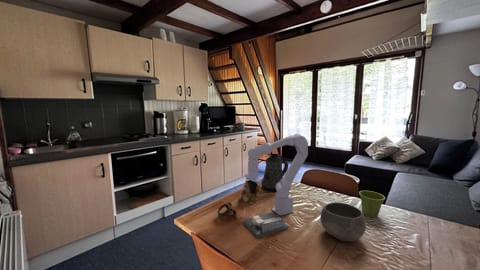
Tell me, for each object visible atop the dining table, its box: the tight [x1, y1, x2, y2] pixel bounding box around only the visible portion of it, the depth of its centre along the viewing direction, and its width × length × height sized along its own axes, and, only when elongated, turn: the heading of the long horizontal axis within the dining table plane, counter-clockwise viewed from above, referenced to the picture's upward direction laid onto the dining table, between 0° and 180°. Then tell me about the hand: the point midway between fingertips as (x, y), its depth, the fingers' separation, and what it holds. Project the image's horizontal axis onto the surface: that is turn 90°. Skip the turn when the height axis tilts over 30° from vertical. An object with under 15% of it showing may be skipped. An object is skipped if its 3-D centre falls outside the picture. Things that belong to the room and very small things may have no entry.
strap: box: [255, 216, 282, 227], centre depth 98 cm, size 14×3×1 cm, turn 116°
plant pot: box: [358, 190, 386, 218], centre depth 110 cm, size 12×12×11 cm
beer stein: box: [260, 153, 289, 193], centre depth 148 cm, size 16×19×25 cm
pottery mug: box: [216, 202, 238, 220], centre depth 108 cm, size 12×10×8 cm
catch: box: [251, 215, 264, 225], centre depth 97 cm, size 3×6×3 cm, turn 26°
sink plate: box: [242, 212, 289, 239], centre depth 100 cm, size 17×14×4 cm
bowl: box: [320, 202, 367, 242], centre depth 91 cm, size 18×18×13 cm
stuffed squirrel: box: [237, 179, 262, 206], centre depth 128 cm, size 10×14×13 cm
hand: (252, 193), depth 114 cm, fingers closed
